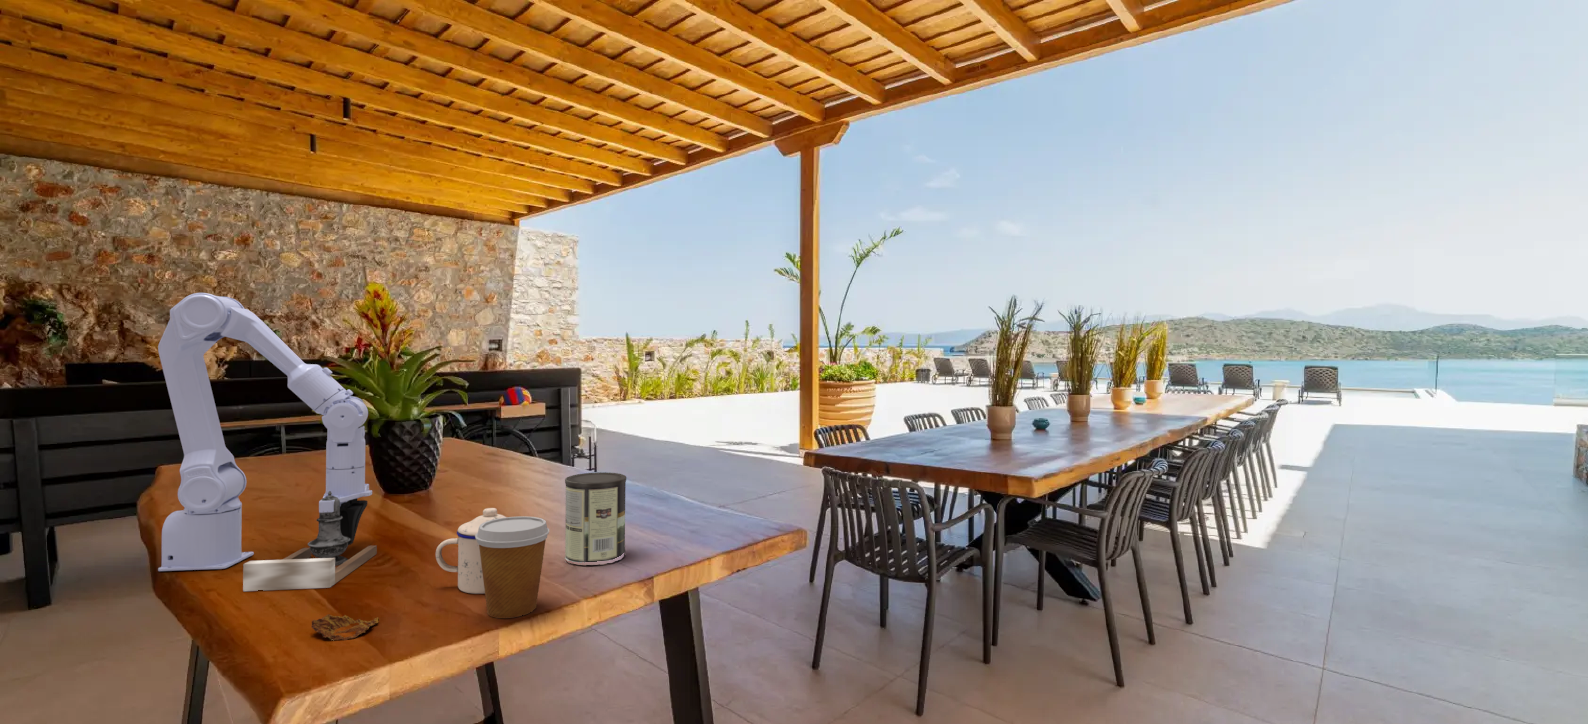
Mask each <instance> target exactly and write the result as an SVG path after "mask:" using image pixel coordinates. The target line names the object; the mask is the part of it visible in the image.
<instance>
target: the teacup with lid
mask: <svg viewBox="0 0 1588 724" xmlns="http://www.w3.org/2000/svg"><path fill="white" fill-rule="evenodd" d="M506 517H507V516H505V515H503V514H499V513H498V510H497V508H496V507H487V508H484V509H483V510H482V515H479V516H477V517H475V518H473V519H472V520H470V521H468V522H465V523H463V524H461V525H459V527H458V529H457V531H456V535H457V536H458V538H457V537H456V538H454V537H452V538H448V539H445V540H443V541H441V543H440V544H438V546H437V547H436V550H435V559H436V562H437V564H438V565H439V567H440V568H441V569H442V570H444V571H446V572H451V573H457V588H458V589H459V591H461V592H463V593H466V594H467V593H468V594H473V595H479V594H480V595H481V594H483V595H485V589H484V581H483V573H482V565H481V557H480V549H479V544H478V543H477V540H476V539H475V535H476V534H477V533H478V529H479V526H480V525H481V524H482V523H484V522H487V521H490V520H494V519H499V518H506ZM449 545H457V546H458V547H457V550H458V552H457V557H458V558H457V560H458V561H457V566H456V565H450V564H448V563H447V562H446V561H445V560H444V558H443V555H442V553H443V552H442V550H443V548H444V547H445V546H449Z"/></svg>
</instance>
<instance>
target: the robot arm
mask: <svg viewBox="0 0 1588 724" xmlns="http://www.w3.org/2000/svg"><path fill="white" fill-rule="evenodd" d="M225 337H226V338H228V339H229V338H230V339H233V340H238V341H241V342H245V343H246V344H249V345H250V346H251V347H252V349H253V348H254V350H256V351H257V352H258V353H259V354H260V355H262V356H263V357H264V358H265V359H266V360H267V361H269V362H270V363H272V364H273V366H274V367H276V368H277V369H279V370H280V371H281V372H282V373H283V374H284V375H286V376H287V388H288V389H289V390H290V391H291V392H292V393H293V394H295V395H296V396H297V398H299V399H300V400H301V401H302V402H303V403H304V404H305V405H307V406H308V407H309V408H310V409H311V410H313V411H314V413H316V414H319V415H322V416H321V422H322V424H323V425H324V427H325V428H326V429H327V435H326V436H327V437H326V439H327V440H326V444H325V445H326V447H325V448H326V449H325V451H326V452H325V455H326V456H325V493H324V494H323V497H322V499H323V498H325V497H326V496H328V494H327V493H328V492H329V491H331V493H332V494H331V495H332V496H335V497H337V498H338V499H339V500H340V516H342V519H341V520H340V530H341V534H342V535H343V536H344V537H349V538H350V541H349V542H348V546H351V545H352V544H353V543H354V541H355V538H356V534H357V530H358V527H359V523H360V521H361V517H362V515H363V513H364V511H365V509H366V508H367V506H368V500H364V499H363V500H362V499H361V500H358V499H359V498H363V497H369V496H372V495H373V490H370V484H369V483H366V439H365V435H366V431H365V425H364V424H365V423H366V421H367V419H368V416H369V410H368V407H367V405H366V404H365V403H364V401H363V399H361V398H359V397H357V396H353V394H354V392H353V391H352V390H351V389H347V390H346V388H344V387H343V386H342V385H341V384H340V383H339V381H337V380H336V379H335V378H333V376H332V374H333V371H332V370H331V369H329V368H328V367H322V366H321V365H320V364H316V363H315V364H313V363H312V364H311V363H305V362H304V361H303V360H302V359H301V358H300V356H298V355H297V354H296V353H295V352H294V351H293V350H292V349H291V348H290V347H289V346H288V345H287V344H286V343H285V342H284V341H283V340H282V339H281V338H280V337H279V336H278V335H277V334H276V333H275V332H274V331H273V330H272V329H271V328H270V327H269V326H268V325H267V324H266V323H265V322H264V321H263V320H262V319H260V317H258V315H257V314H255V313H254V312H252V311H251V310H249V309H248V308H245V307H244V305H243V304H241V302H239V300H237V299H235V298H232V297H229V296H221V295H220V296H218V295H215V294H211V293H207V292H196V293H192V294H189V295H187V296H185V297H184V298H183V299H182V300H180V301H179V302H177V303H176V304H175V305H173V307H171V309H169V321H168V322H167V325H166V327H165V329H164V332H163V334H162V336H161V338H160V341H159V343H158V346H157V348H158V349H157V350H158V355H159V360H160V364H161V368H162V372H163V376H164V379H165V383H166V387H167V392H168V396H169V399H170V403H171V408H172V412H173V415H174V420H175V423H176V424H175V425H176V428H177V431H178V435H179V439H180V443H181V446H182V447H181V448H182V451H183V459H182V462H181V465H180V466H179V467H180V468H179V474H180V485H179V486H178V489H177V499H178V501H179V503H180V504H181V506H182V507H184V508H183V510H175V511H173V512H171V513H170V514H169V515H168V516H167V517H165V520H164V523H163V524H162V529H161V566H159V567H158V568H157V571H158V572H172V571H174V572H175V571H193V570H194V571H196V570H197V571H199V570H200V571H201V570H222V569H223V570H224V569H228V568H229V567H231V566H234V565H235V564H237V563H240V562H241V561H243V560H245V559H248V558H249V557H252V556H253V555H254V554H255V553H254V551H242V522H243V521H242V520H243V519H242V511H243V510H242V507H243V503H242V501H240V498H239V496H240V495H241V494H242V493H243V492H244V491H245V489H246V487H247V484H248V483H247V482H248V481H247V477H246V475H245V472H244V471H243V470H242V469H240V467H238V465H237V463H236V461H235V456H234V455H233V453H231V451H230V450H229V449H228V448H227V447H226V444H225V443H226V442H225V438H224V435H223V430H222V427H221V422H220V419H219V414H218V411H217V406H216V403H215V398H214V394H213V390H212V386H211V381H210V378H209V373H208V370H207V369H208V368H207V365H206V361H205V356H204V355H205V354H206V353H207V352H208V351H209V349H211V348H213V346H214V345H215V344H216V343H217V342H218V341H219V340H221V339H223V338H225ZM320 500H321V499H320ZM320 500H319V501H318V513H323V511H324V512H334V501H335V500H332V501H322V500H321V501H320Z"/></svg>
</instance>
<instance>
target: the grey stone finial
mask: <svg viewBox="0 0 1588 724" xmlns="http://www.w3.org/2000/svg"><path fill="white" fill-rule="evenodd" d="M327 494H328V496H326V497H325V498H323V497H322V498H321V499H320V500H319V501H321V500H322V501H332V500H335V501H334V512H324V511H323V513H319V512H318V513H319V514H318V515H319V516H318V518H317V519H316V521H317V522H318V532H317V536H316V538H315V539H313V540H311V541H309V542H308V543H307V546H308V547H309V548H310V551H311V555H313V556H314V557H315V558H335V567H338V566H340V565H341V564H343V563H344V562H346V561H347V560H349V558H347V557H346V556H342V555H343V554H344V552H346V550H347V548H348V546H349V545H348V542H349V541H350V538H349V537H344V536H343V535H342V534H341V530H340V520H341V519H342V516H340V500H339V499H338V498H337V497H335V496H332V495H331V494H332V493H331V491H329V492H328V493H327Z"/></svg>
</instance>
